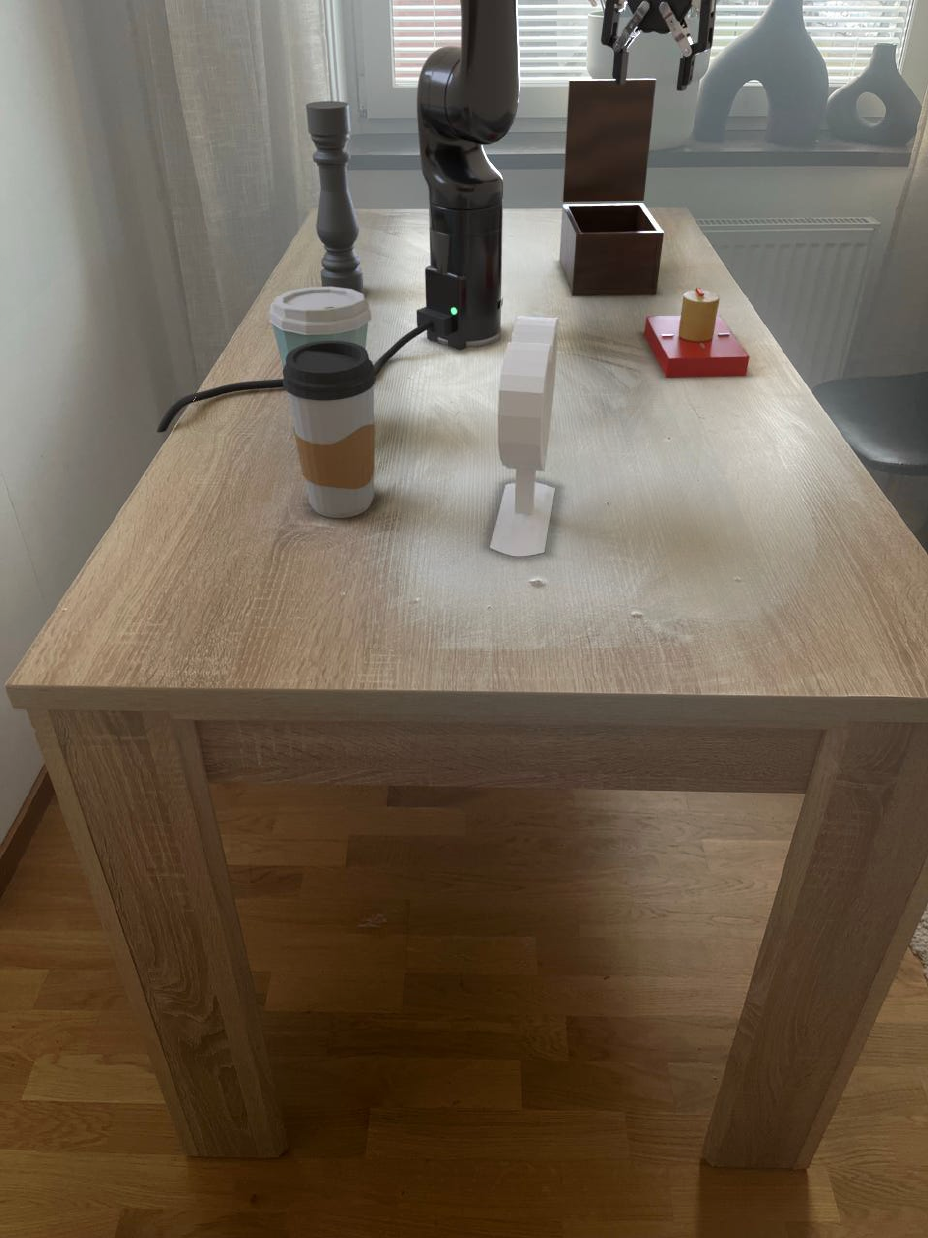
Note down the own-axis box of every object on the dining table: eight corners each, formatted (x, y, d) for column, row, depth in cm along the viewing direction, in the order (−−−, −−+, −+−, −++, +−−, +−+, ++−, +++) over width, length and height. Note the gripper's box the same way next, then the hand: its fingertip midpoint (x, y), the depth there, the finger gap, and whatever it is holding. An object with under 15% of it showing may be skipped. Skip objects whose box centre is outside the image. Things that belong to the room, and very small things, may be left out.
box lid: (656, 79, 133) (649, 74, 137) (569, 80, 133) (565, 75, 137) (643, 200, 143) (637, 192, 147) (563, 202, 143) (558, 194, 147)
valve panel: (746, 375, 114) (750, 355, 112) (665, 377, 114) (668, 356, 112) (717, 333, 125) (720, 313, 123) (643, 334, 125) (646, 315, 123)
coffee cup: (342, 472, 95) (328, 331, 86) (401, 499, 91) (393, 353, 82) (281, 505, 90) (259, 359, 81) (341, 535, 86) (325, 384, 77)
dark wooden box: (656, 294, 137) (664, 232, 131) (572, 295, 137) (576, 233, 131) (636, 261, 149) (642, 203, 144) (559, 262, 149) (562, 204, 143)
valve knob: (717, 341, 116) (724, 299, 113) (682, 341, 116) (688, 299, 113) (708, 328, 119) (715, 287, 116) (674, 328, 119) (680, 287, 116)
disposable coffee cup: (274, 415, 106) (255, 283, 97) (364, 400, 109) (355, 271, 100) (295, 457, 98) (277, 318, 89) (391, 439, 101) (384, 303, 92)
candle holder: (361, 300, 135) (347, 108, 120) (319, 300, 135) (300, 108, 120) (366, 286, 140) (353, 100, 125) (325, 286, 140) (307, 100, 125)
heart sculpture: (542, 565, 82) (553, 373, 71) (486, 559, 83) (489, 369, 72) (556, 478, 94) (568, 303, 83) (508, 474, 95) (513, 300, 84)
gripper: (601, -67, 112) (589, 86, 122) (715, -64, 106) (693, 95, 116) (624, -68, 117) (611, 78, 127) (734, -66, 112) (711, 87, 122)
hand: (650, 86), depth 122 cm, fingers open, 8 cm apart
